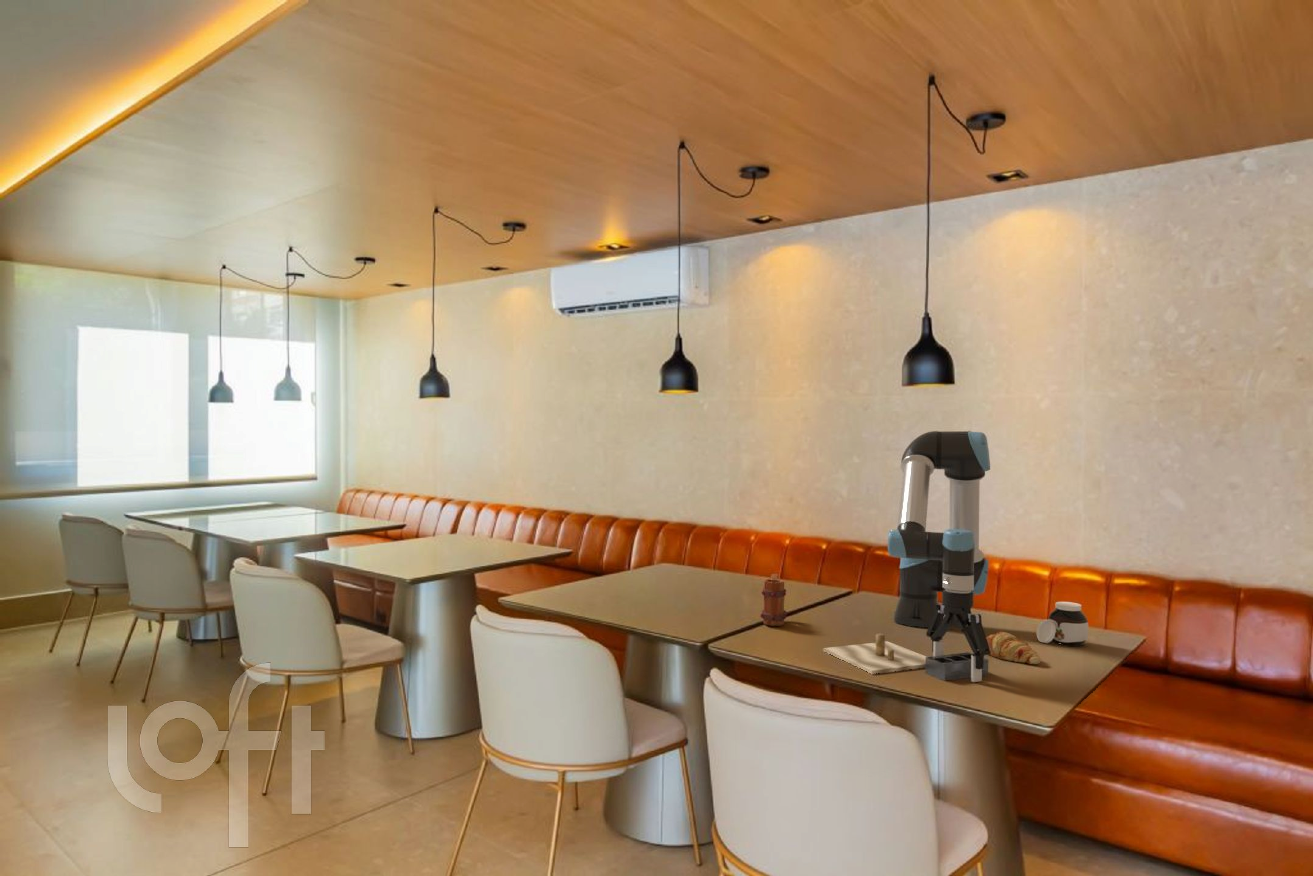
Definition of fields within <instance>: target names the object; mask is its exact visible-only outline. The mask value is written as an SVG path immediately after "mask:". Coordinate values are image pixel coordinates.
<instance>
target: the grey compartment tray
mask: <svg viewBox="0 0 1313 876" xmlns="http://www.w3.org/2000/svg"><path fill="white" fill-rule="evenodd" d="M973 654H974V653H973V652H967V651H966V652H959V653H958V652H957V653H951V654H943V655H941V656H933V655H932V656H926V661H925V668H924V669H925V672H924V673H925V674H927V675H929V674H930V675H929V676H931V677H934V678H936V677H937V678H936V679H940V680H941V681H943V680H944V681H943V682H947V680H948V681H954V680H962V679H969V678H970V679H971V655H973ZM984 676H989V659H988V658H986V657H984V662H983V669H982V677H984Z"/></svg>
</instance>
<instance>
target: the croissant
mask: <svg viewBox="0 0 1313 876" xmlns="http://www.w3.org/2000/svg"><path fill="white" fill-rule="evenodd" d="M986 639H987V642H988V645H989V648H990V651H991V654H990V655H991V657H993V656H994V657H993V658H996V657H997V658H996V659H999V660H1004V661H1009V662H1015V663H1023V664H1024V663H1026V664H1029V665H1037V664H1040V663H1041V661H1042V659H1041V657H1040V655H1039V654H1038V652H1037V651H1035V650H1034V649H1032V647H1031V646H1030V645H1029V643H1028V642H1026V641H1025V642H1024V641H1022V640H1020V639H1019V638H1018V637H1017V636H1015V635H1013V634H1011V633H1009V632H1004V631H1001V630H1000V632H997V633H992V634H990V635H988V636H986ZM984 650H985V649H984ZM990 655H989V656H990Z"/></svg>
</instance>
